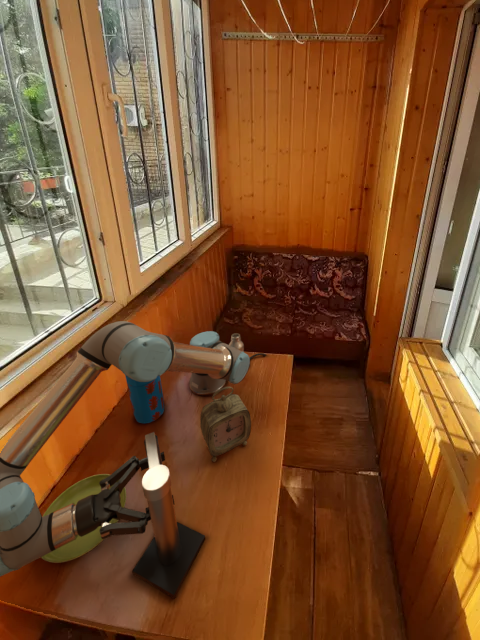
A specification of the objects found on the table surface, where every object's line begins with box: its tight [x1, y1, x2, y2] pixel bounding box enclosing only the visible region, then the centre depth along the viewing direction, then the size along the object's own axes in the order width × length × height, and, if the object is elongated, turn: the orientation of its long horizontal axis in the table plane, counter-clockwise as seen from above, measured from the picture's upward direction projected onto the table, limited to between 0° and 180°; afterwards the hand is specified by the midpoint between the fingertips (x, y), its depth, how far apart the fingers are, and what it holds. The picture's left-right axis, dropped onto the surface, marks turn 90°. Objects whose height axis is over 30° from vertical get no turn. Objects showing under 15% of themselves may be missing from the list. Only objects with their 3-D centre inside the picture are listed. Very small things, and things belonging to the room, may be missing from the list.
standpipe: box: [132, 488, 206, 600], centre depth 73 cm, size 12×12×24 cm
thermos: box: [124, 374, 165, 424], centre depth 114 cm, size 11×11×25 cm
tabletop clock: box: [199, 386, 252, 463], centre depth 101 cm, size 14×9×25 cm, turn 123°
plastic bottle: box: [228, 332, 245, 352], centre depth 134 cm, size 6×7×20 cm
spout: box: [141, 431, 172, 501], centre depth 76 cm, size 18×6×22 cm, turn 29°
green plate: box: [40, 473, 127, 564], centre depth 83 cm, size 21×21×3 cm
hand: (169, 476), depth 85 cm, fingers open, 13 cm apart
